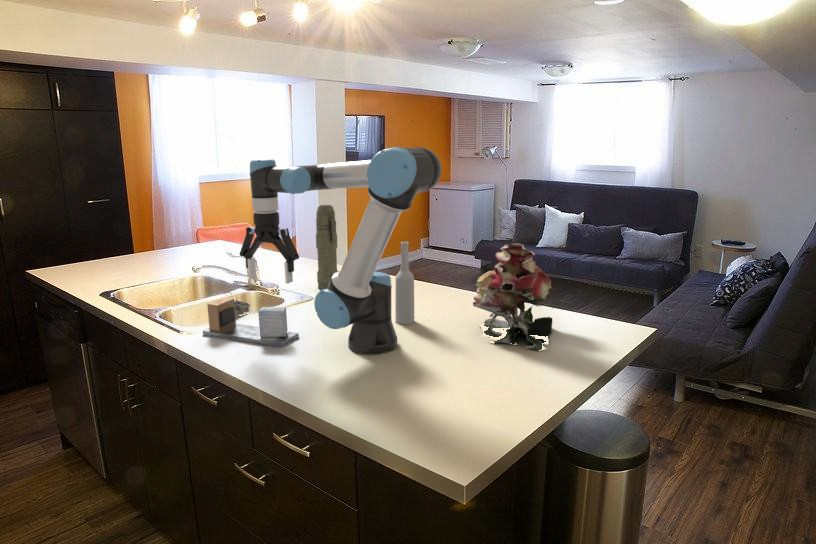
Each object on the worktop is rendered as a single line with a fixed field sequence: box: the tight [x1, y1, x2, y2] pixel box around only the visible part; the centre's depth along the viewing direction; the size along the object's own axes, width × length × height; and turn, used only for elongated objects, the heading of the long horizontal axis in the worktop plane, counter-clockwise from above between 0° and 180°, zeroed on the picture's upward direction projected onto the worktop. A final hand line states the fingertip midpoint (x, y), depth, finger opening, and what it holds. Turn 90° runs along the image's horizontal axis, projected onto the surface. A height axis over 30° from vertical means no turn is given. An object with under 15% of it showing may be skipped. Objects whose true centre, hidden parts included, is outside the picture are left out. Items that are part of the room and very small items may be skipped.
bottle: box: [394, 241, 415, 325], centre depth 192 cm, size 7×7×28 cm
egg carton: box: [234, 299, 252, 318], centre depth 205 cm, size 11×8×4 cm
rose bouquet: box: [472, 242, 555, 351], centre depth 180 cm, size 26×29×30 cm
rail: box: [202, 297, 300, 349], centre depth 180 cm, size 30×10×10 cm, turn 67°
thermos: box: [315, 204, 339, 291], centre depth 235 cm, size 9×12×35 cm
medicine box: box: [257, 306, 289, 337], centre depth 176 cm, size 8×4×9 cm, turn 91°
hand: (270, 280), depth 173 cm, fingers open, 13 cm apart
